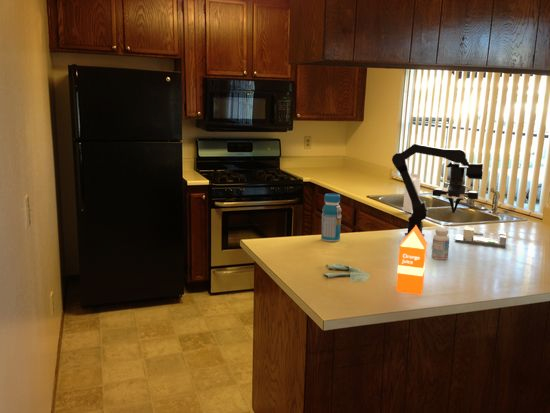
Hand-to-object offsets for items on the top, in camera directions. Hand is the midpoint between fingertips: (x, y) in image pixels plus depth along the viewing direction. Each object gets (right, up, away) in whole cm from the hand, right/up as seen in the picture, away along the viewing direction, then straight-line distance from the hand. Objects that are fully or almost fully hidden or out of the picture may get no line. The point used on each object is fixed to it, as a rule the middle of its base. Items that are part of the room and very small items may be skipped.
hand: (453, 212), depth 219 cm
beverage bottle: (-55, -12, -3) cm, 56 cm away
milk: (-3, -1, +59) cm, 59 cm away
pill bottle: (-15, -17, -27) cm, 36 cm away
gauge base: (+11, -13, -3) cm, 17 cm away
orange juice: (-36, -24, -61) cm, 75 cm away
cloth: (-57, -21, -47) cm, 76 cm away
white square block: (+8, -11, -3) cm, 14 cm away
